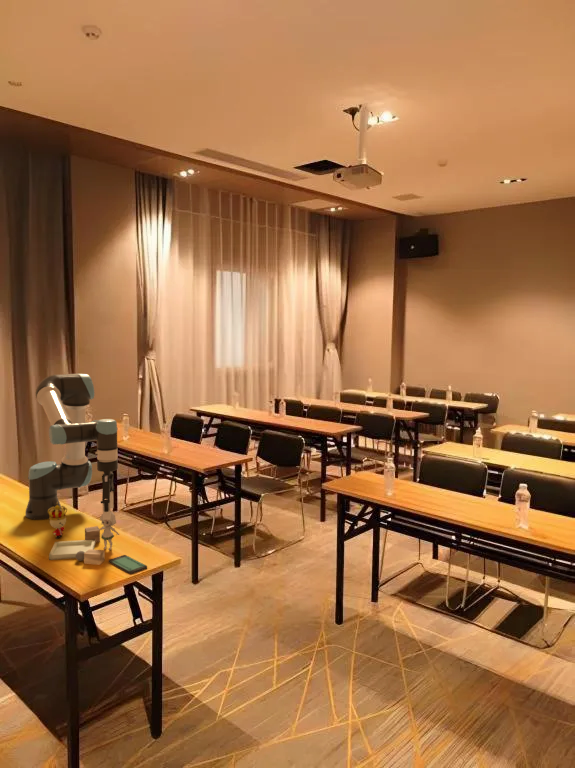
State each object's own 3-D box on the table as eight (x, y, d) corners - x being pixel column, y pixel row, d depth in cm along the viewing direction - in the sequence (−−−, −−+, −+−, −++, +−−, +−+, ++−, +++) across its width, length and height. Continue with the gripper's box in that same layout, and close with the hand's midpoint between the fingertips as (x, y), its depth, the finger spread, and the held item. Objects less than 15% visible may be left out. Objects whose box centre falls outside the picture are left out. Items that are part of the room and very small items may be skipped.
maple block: (89, 559, 213) (89, 549, 212) (104, 560, 212) (104, 550, 212) (84, 563, 209) (84, 553, 208) (99, 565, 208) (99, 554, 208)
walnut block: (85, 539, 231) (84, 527, 231) (97, 537, 233) (97, 526, 233) (86, 544, 227) (86, 532, 226) (100, 542, 229) (99, 530, 228)
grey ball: (76, 558, 212) (76, 549, 212) (86, 558, 213) (86, 549, 213) (75, 562, 209) (75, 553, 209) (85, 562, 210) (85, 552, 209)
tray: (55, 546, 224) (55, 541, 224) (95, 543, 227) (95, 539, 227) (49, 559, 211) (48, 555, 211) (91, 557, 214) (91, 552, 214)
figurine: (92, 549, 222) (91, 511, 220) (102, 543, 227) (102, 506, 226) (114, 553, 218) (114, 515, 217) (124, 547, 224) (124, 510, 222)
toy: (60, 541, 229) (60, 505, 227) (44, 539, 230) (43, 503, 228) (71, 535, 236) (70, 499, 234) (55, 533, 237) (54, 498, 235)
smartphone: (124, 554, 216) (147, 565, 206) (124, 557, 216) (147, 569, 206) (107, 559, 210) (130, 572, 200) (107, 563, 210) (130, 575, 200)
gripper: (100, 453, 230) (101, 504, 232) (93, 468, 206) (94, 525, 208) (119, 452, 232) (120, 503, 234) (115, 467, 208) (116, 523, 210)
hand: (108, 513), depth 221 cm, fingers open, 13 cm apart
